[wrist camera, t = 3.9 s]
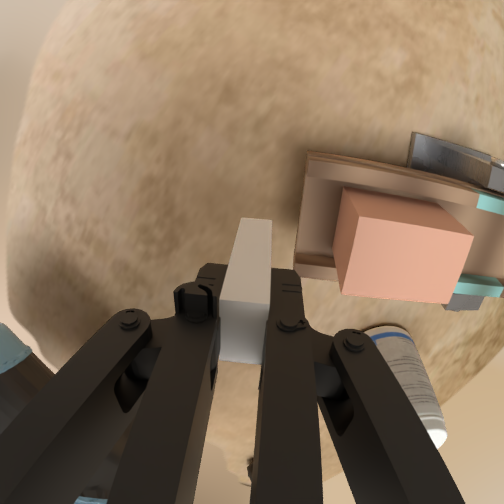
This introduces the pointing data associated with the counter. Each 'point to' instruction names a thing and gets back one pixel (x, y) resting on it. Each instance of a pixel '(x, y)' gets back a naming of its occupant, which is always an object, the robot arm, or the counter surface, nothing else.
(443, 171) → the stand
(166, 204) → the counter surface
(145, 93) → the counter surface
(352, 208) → the block
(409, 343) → the supplement tub
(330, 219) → the beam
